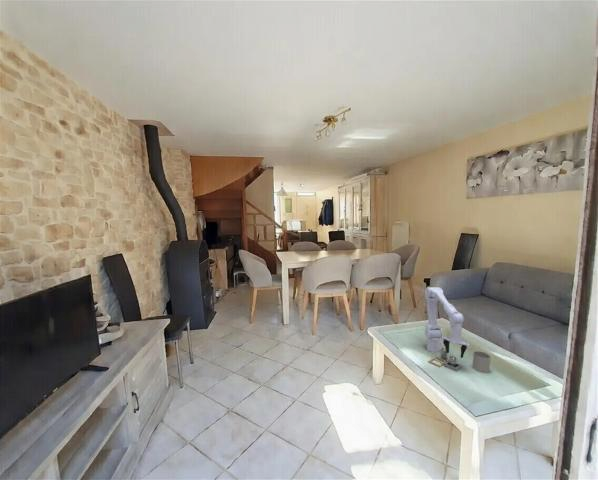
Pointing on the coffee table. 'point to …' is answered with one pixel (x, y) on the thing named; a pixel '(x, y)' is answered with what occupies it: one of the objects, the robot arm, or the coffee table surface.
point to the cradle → (453, 367)
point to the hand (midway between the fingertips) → (454, 355)
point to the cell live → (452, 361)
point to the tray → (437, 361)
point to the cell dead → (443, 354)
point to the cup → (481, 362)
